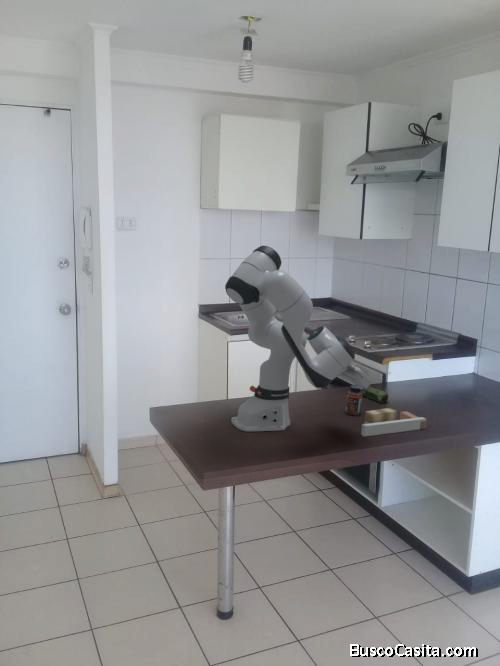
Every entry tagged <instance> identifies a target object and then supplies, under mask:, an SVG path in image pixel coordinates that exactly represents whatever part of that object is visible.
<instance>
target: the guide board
mask: <svg viewBox="0 0 500 666" xmlns="http://www.w3.org/2000/svg"><path fill="white" fill-rule="evenodd" d="M399 415H400V416H399V419H396V420H394V421H386V422H377V423H369V424H365V423H363V424H361V431H360V432H361V433H360V435H361V436H362V437H365V438H366V437H373V436H379V435H380V436H381V435H387V434H394V433H402V432H411V431H417V430H425V429H427V422H428V421H427V418H425V417H424V416H422V417H420V416H417V415H415V414H413V413H411V412H409V411H400V414H399Z"/></svg>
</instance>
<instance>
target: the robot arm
mask: <svg viewBox="0 0 500 666" xmlns="http://www.w3.org/2000/svg"><path fill="white" fill-rule="evenodd" d="M281 266H282V259H281V256H280V255H279V253H278V251H277V250H275V249H274V248H273V247H271V246H268V245H260V246H258V247H256V248H255V249H254V250H252V253H250V255H248V256H247V257H246V258H245V259H244V260H243V261H242V262H241V263H240V265H239V266H238V267H237V268H236V270H235V271H234V273H233V274H232V275H231V276H230V277H229V278H228V279H227V281H226V283H225V286H224V287H225V288H224V289H225V292H226V294H227V296H228V297H229V298H230V300H232V302H234V303H236V304H238V306H239V307H240V308H241V310H242V312H243V313H244V315H245V317H246V319H248V322H249V325H248V326H249V327H248V330H247V335H248V338H249V340H250V341H251V342H252V343H253V344H255V345H256V346H258V347H260V348H264V349H266V350H270V354H269V357H268V359H266V360H265V361H264V362H263V363H261V365H260V366H259V367H260V368H259V380H258V381H259V382H258V385H257V387H256V386H254V385H250V387H249V391H250V392H252V393H253V394H254V395H252V396H251V397H250V398H248V399H247V400H246V401H245V402H243V403H242V404H240V406H239V407H238V410H237V414H236V415H237V416H233V417H231V421H230V422H231V424H232V425H233V426H234V428H237V429H238V430H239V431H243V432H264V431H265V432H268V431H269V432H273V431H284V430H286V428H288V427H289V426H290V425H291V419H290V412H289V399H290V386H289V383H290V372H291V367H292V364H293V361H294V360H295V358H296V360H297V362H298V363H299V365H300V367H301V369H302V371H303V372H304V376H305V378H306V380H307V381H308V383H309V384H311V385H312V386H313V387H314V388H316V389H317V388H318V389H320V388H321V389H322V388H327V387H328V386H329V385H330V384H331V383H332V382H333V381H334V380H335V379H336V378H337V377H339V378H340V379H341V378H342V379H344V380H345V381H348V382H350V383H352V384H353V385H355V386H356V387H357V388H359V389H360V391H361V390H362V391H363V389H366V388H367V387H368V386H371V384H372V380H371V378H370V377H369V376H368V375H367V374H366V373H365V372H364V371H363V369H361V368H359V367H357V366H355V365H354V364H353V363H354V361H355V358H356V351H355V349H354V348H353V347H352V346H351V345H350V343H349V341H347V340H346V339H345V337H342V336H335V334H334V333H332V331H330V330H329V329H328V328H327V327H325V326H324V325H323V326H322V325H321V326H319V327H317V328H315V329H314V330H313V331H311V333H310V335H309V336H308V337H307V333H306V332H305V329H306V327H307V325H308V324H309V322H310V320H311V318H312V315H313V311H314V305H313V300H312V299H311V297H310V296H309V295H308V293H307V292H306V290H305V289H304V288H303V287H302V286H301V285H300V283H298V282H297V280H295V279H294V278H293V277H292V276H291V275H290V274H289V273H287V272H286V271H285V270H284V269H283V270H282V269H280V268H281ZM276 312H278V314H279V316H280V318H281V321H280V320H278V319H277V318H276V316H275V315H276ZM307 342H308V343H309V345H310V347H311V348H312V350H313V351H314V352H315V353H316V356H315V357H314V358H311V357H310V355H309V353H308V351H307V350H306V349H305V348H306V345H307Z"/></svg>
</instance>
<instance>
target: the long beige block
mask: <svg viewBox="0 0 500 666" xmlns="http://www.w3.org/2000/svg"><path fill="white" fill-rule="evenodd" d="M397 416H398V411H397V410H396V409H394V408H391V407H388V408H380V409H374V410H373V409H372V410H366V411H365V415H364V424H369V423H377V422H386V421H394V420H398V419H397V418H398V417H397Z"/></svg>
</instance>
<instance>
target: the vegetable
mask: <svg viewBox="0 0 500 666" xmlns="http://www.w3.org/2000/svg"><path fill="white" fill-rule="evenodd" d="M361 393H362V396H363V397H365V398H367V399H370V400H372V401H376V402H378V403H380V404H381V403H386V402H387V401H389V394H388V392H387V391H383V390H380V389H378V388H375V387H372V386H371V385H369V386H368V387H367V388H366V389H364V388H363V389H362V391H361Z"/></svg>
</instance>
